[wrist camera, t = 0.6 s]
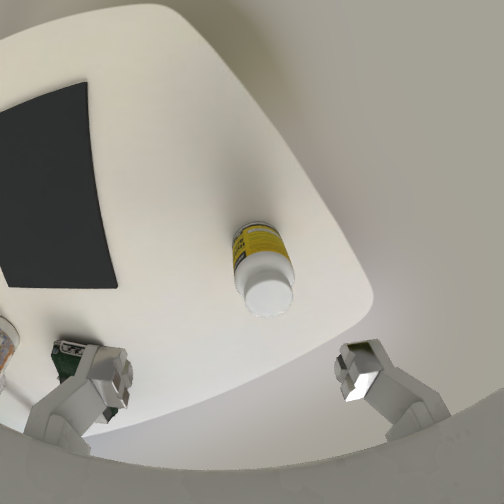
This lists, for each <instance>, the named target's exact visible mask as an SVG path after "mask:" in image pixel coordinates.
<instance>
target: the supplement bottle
mask: <svg viewBox="0 0 504 504" xmlns="http://www.w3.org/2000/svg"><path fill="white" fill-rule="evenodd" d="M232 250H233V268H234V280H235V286H236V289H237V291H238V292H239V294H240V295H241V296H242V297H243V298H244V301H245V305H246V308H247V309H248V310H249V312H250V313H252V314H253V315H255V316H258V317H263V318H270V317H275V316H278V315H280V314H282V313H283V312H285V311H286V310H287V309H288V308H289V307H290V305H291V304H292V301H293V291H292V286H293V283H294V270H293V266H292V264H291V261H290V259H289V256H288V254H287V251H286V249H285V246H284V243H283V241H282V239H281V236H280V234H279V233H278V231H277V230H276V229H275V228H274V227H272V226H271V225H268V224H266V223H260V222H258V223H251V224H248V225H246V226H244V227H242V228H241V229H240V230H239V231H238V232H237V233H236V235H235V237H234V240H233V245H232Z"/></svg>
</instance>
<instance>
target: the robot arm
mask: <svg viewBox="0 0 504 504" xmlns="http://www.w3.org/2000/svg"><path fill="white" fill-rule="evenodd" d="M340 353H341V354H340V355H339V356H338V357H337V358H336V361H335V366H334V368H335V375H336V378H337V380H338V381H340V382H341V383H342V385H341V388H340V389H341V392H342V394H343V397H344V400H345V401H350V400H356V399H361V398H364V400H366V401H367V402H368V403H369V404H370V405H371V406H372V407H373V408H375V409H376V410H377V411H378V412H379V413H380V414H381V415H382V416H384V417H385V418H386V419H387V420H388V421H389V422H391V423H392V424H393V426H392V428H390V429H389V431H388V432H387V433H386V435H385V436H386V439H387V441H388V442H387V443H384V444H381V445H377V446H375V447H371V448H368V449H364V450H360V451H357V452H353V453H349V454H345V455H341V456H337V457H332V458H328V459H322V460H317V461H312V462H306V463H300V464H294V465H287V466H279V467H269V468H258V469H244V470H187V469H172V468H161V467H151V466H144V465H136V464H130V463H124V462H118V461H113V460H108V459H103V458H99V457H94V456H90V450H91V447H90V446H89V444H88V443H86V441H85V440H83V438H82V437H81V436H82V435H83V434H84V433H85V432H86V430H87V429H88V428H89V427H90V426H91V425H92V424H93V423H94V421H95V420H96V419H97V418H98V417H99V416H100V415H101V414H102V412H103V411H104V410H105V409H106V408H107V407H106V406H108V407H116V408H125V409H127V405H128V400H129V393H128V390H127V389H128V388H129V387H130V386H131V385H132V380H133V370H132V366H131V363H130V362H129V361H128V360H127V352H126V350H125V349H123V348H115V347H107V346H98V345H91V344H88V345H87V346H86V348H85V350H84V353H83V355H82V358H81V360H80V363H79V365H78V368H77V370H76V373H75V376H70V377H69V378H68V379H67V380H65V381H64V382H63V383H62V384H60V385H59V386H58V387H57V388H55V389H54V390H53V391H51V392H50V393H49V394H48V395H46V396H45V397H44V398H43V399H41V400H40V401H39V402H38V403H36V404H35V405H34V406H33V407H32V409H31V412H30V415H29V418H28V421H27V424H26V427H25V430H24V433H20V432H18V431H16V430H14V429H11V428H9V427H7V426H5V425H3V424H0V504H504V388H501V389H499V390H497V391H495V392H494V393H492V394H491V395H489V396H487V397H486V398H484V399H482V400H481V401H479V402H477V403H475V404H474V405H472V406H470V407H468V408H466V409H464V410H463V411H461V412H459V413H457V414H455V415H453V416H451V414H450V413H449V411H448V409H447V407H446V405H445V403H444V402H443V400H442V398H441V396H440V394H439V393H438V392H436V391H434V390H433V389H431V388H430V387H428V386H427V385H425V384H423V383H422V382H420V381H419V380H417V379H415V378H414V377H412V376H411V375H409V374H408V373H406V372H404V371H403V370H401V369H400V368H398V367H396V368H395V367H394V366H393V364H392V362H391V360H390V358H389V357H388V355H387V353H386V351H385V350H384V348H383V346H382V344H381V343H380V341H379V340H378V339H373V340H367V341H359V342H352V343H345V344H343V345H342V346H341V348H340Z"/></svg>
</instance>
